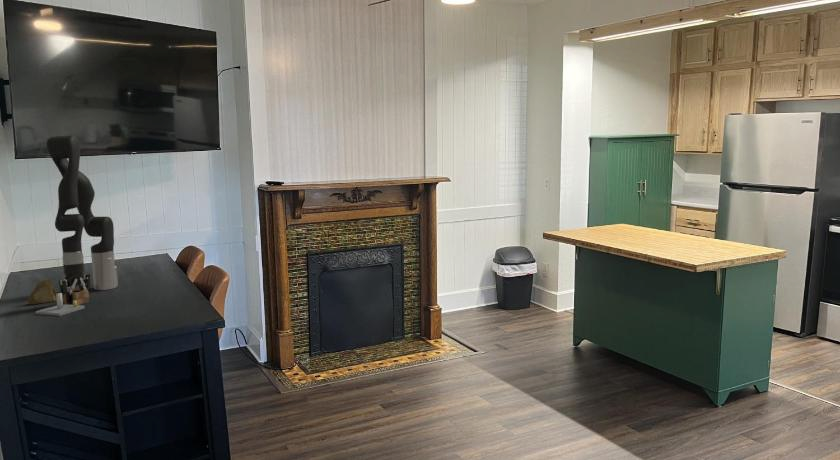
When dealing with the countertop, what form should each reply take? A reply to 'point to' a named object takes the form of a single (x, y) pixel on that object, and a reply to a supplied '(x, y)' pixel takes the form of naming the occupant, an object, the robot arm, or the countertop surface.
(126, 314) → the countertop surface
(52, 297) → the rock
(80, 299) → the wooden square frame
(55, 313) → the post board
